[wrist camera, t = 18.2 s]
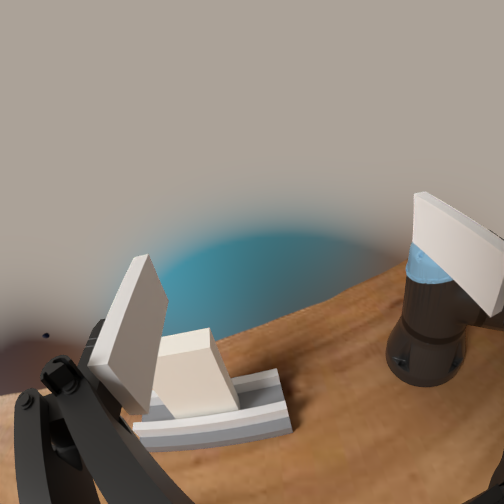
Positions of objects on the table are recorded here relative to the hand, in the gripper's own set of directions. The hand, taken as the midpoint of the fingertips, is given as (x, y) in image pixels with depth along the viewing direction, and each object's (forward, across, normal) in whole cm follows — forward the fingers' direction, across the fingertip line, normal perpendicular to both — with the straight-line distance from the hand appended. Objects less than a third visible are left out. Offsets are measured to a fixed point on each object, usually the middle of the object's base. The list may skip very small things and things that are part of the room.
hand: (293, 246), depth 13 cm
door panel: (+14, -14, -33) cm, 39 cm away
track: (+14, -14, -35) cm, 40 cm away
